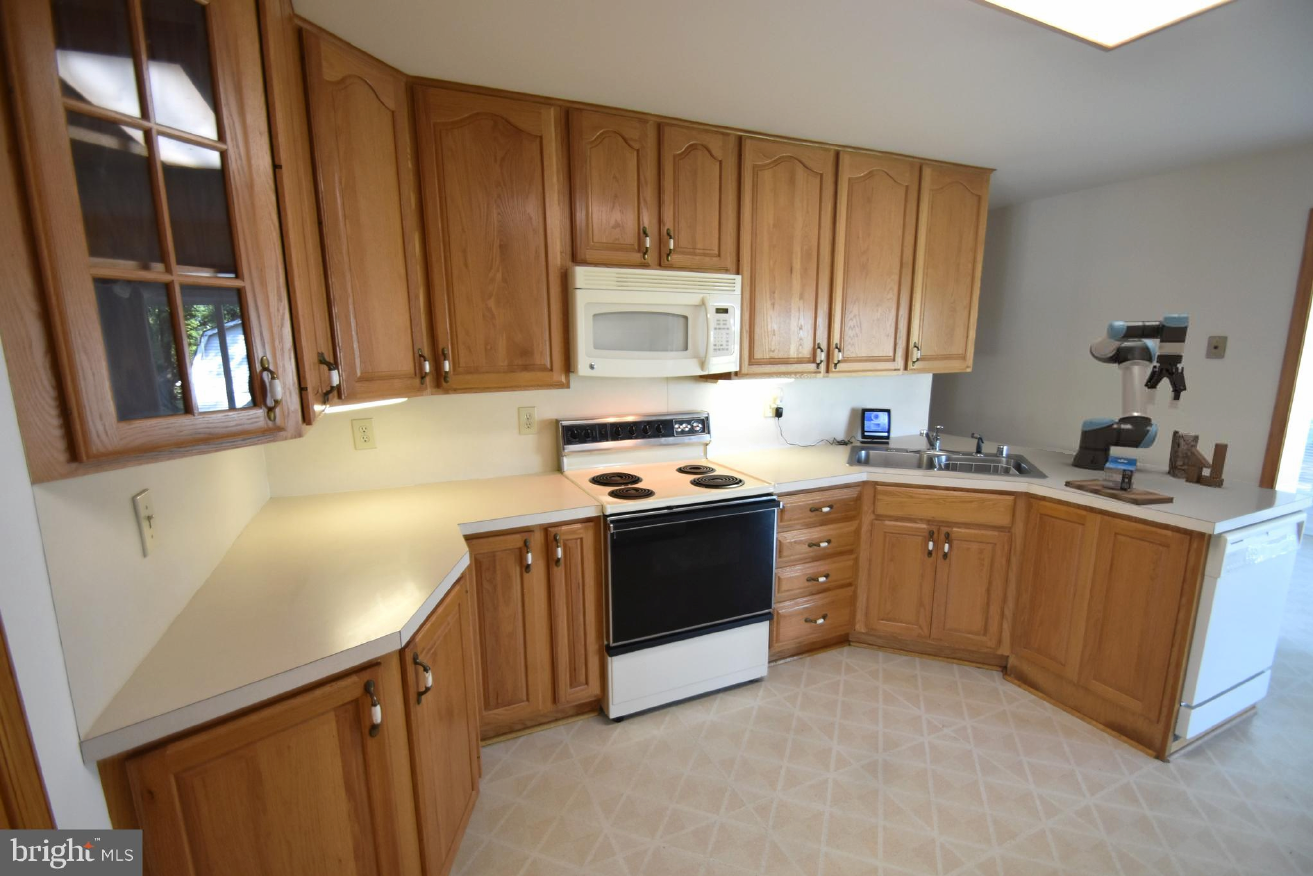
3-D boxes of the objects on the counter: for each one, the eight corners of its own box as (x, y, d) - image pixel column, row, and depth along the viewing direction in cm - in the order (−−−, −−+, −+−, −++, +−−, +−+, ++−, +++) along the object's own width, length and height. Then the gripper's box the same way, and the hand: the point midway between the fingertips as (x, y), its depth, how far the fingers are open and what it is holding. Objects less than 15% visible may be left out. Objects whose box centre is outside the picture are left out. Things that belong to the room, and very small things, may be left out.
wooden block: (1190, 481, 226) (1197, 439, 223) (1223, 487, 216) (1231, 444, 213) (1184, 481, 225) (1192, 440, 222) (1216, 488, 215) (1225, 444, 212)
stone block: (1194, 479, 228) (1202, 434, 225) (1173, 478, 231) (1180, 432, 228) (1181, 473, 240) (1189, 429, 237) (1161, 471, 243) (1168, 428, 240)
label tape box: (1100, 486, 208) (1105, 456, 206) (1104, 485, 211) (1108, 455, 209) (1130, 491, 201) (1135, 460, 199) (1133, 490, 204) (1138, 458, 202)
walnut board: (1064, 485, 218) (1065, 480, 218) (1096, 483, 221) (1096, 478, 221) (1138, 505, 191) (1139, 499, 191) (1172, 502, 194) (1173, 497, 194)
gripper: (1138, 353, 225) (1130, 402, 229) (1181, 354, 201) (1172, 409, 205) (1159, 353, 224) (1151, 403, 228) (1205, 354, 200) (1195, 410, 204)
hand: (1161, 406), depth 216 cm, fingers open, 13 cm apart
